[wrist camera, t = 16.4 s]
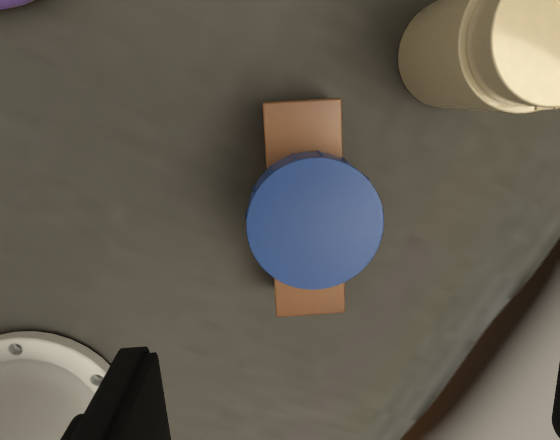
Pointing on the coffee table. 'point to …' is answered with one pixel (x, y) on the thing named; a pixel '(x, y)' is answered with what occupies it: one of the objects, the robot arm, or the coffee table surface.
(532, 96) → the jar
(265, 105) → the block
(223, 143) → the coffee table surface
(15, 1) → the donut
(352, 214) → the lid
